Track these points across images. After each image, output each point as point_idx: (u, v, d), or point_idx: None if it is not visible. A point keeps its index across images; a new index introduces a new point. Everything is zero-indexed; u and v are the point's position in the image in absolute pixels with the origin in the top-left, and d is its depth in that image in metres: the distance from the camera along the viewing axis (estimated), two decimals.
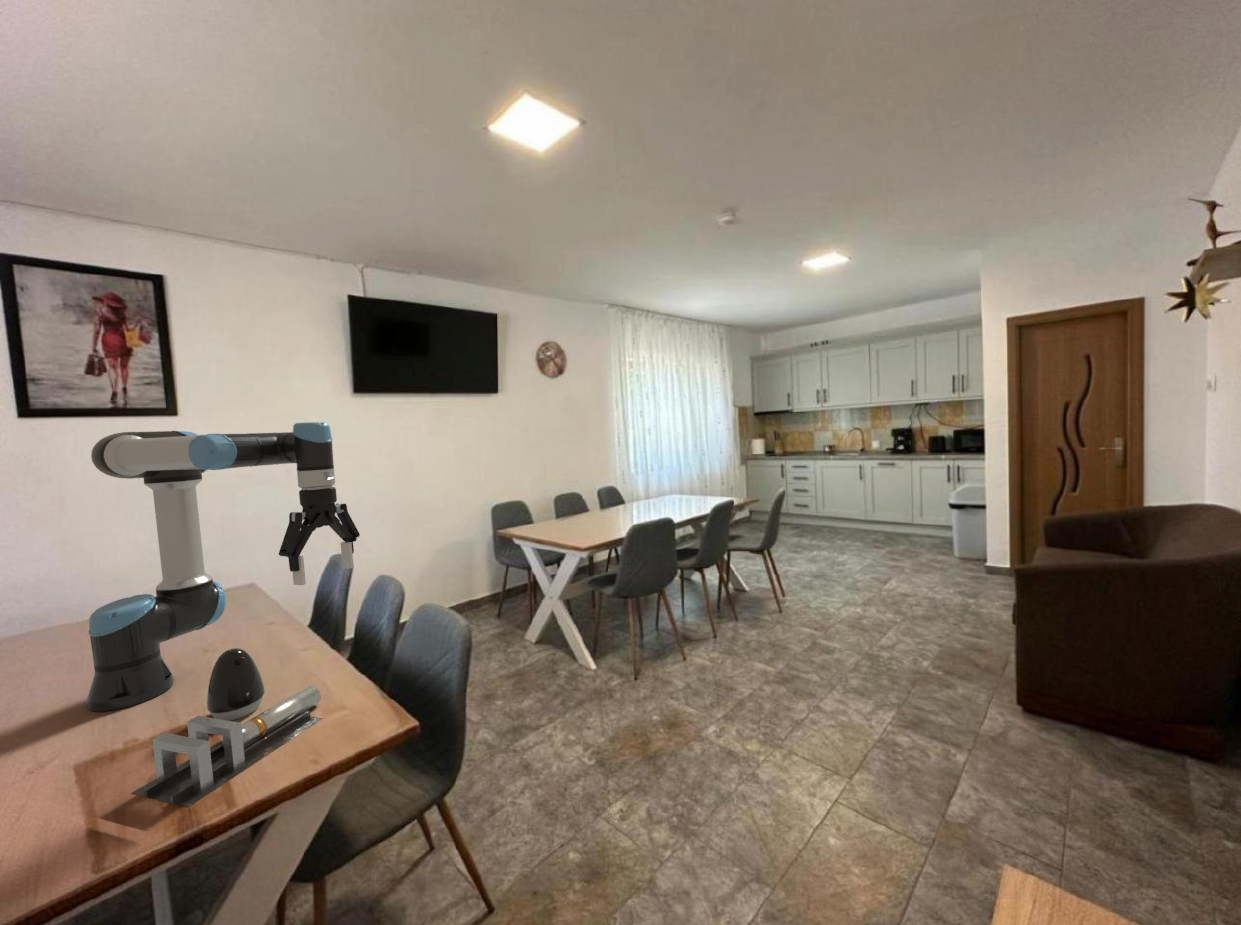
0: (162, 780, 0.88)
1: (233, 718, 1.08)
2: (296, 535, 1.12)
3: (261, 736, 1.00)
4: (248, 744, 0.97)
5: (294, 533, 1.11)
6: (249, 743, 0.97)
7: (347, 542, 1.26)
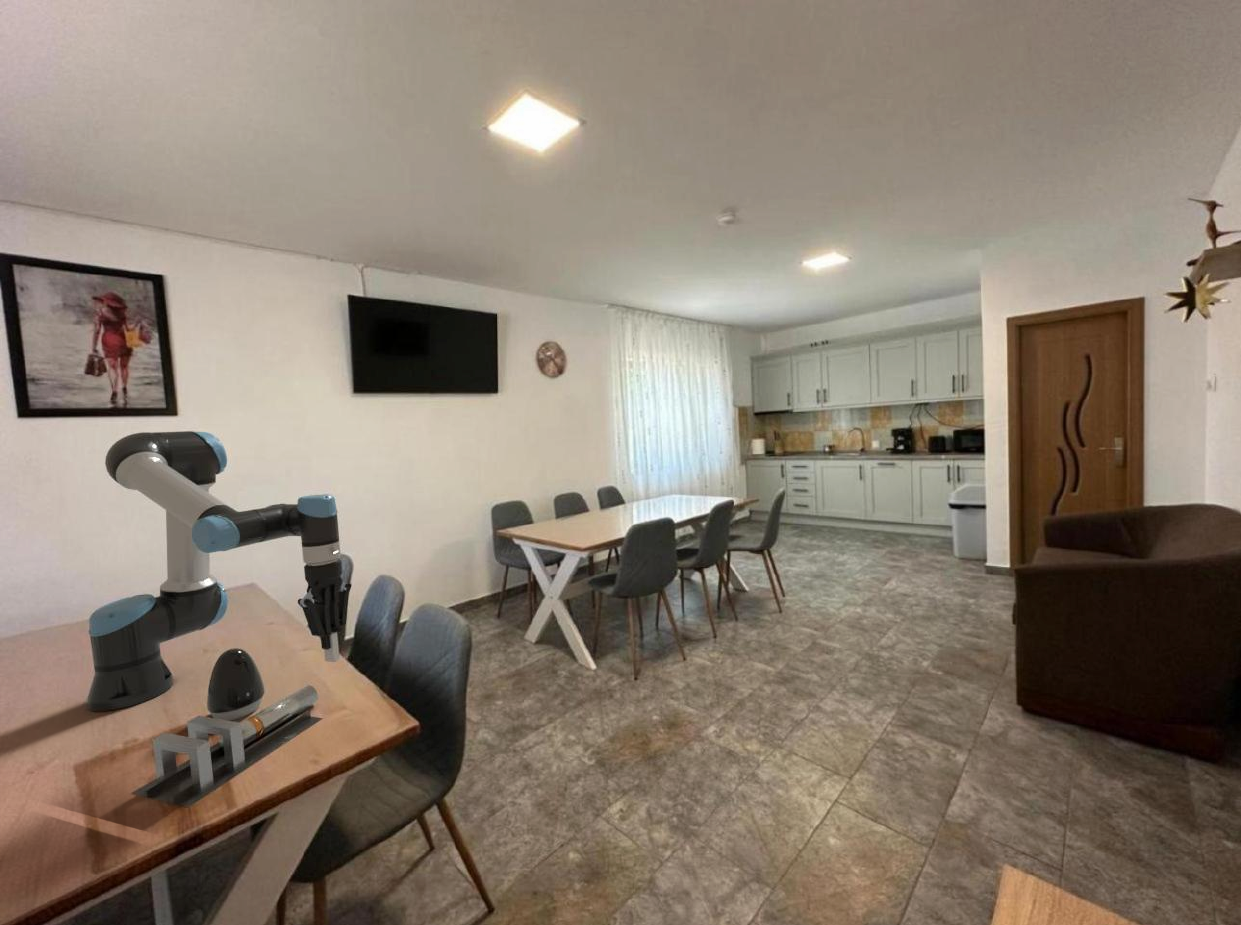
0: (162, 780, 0.88)
1: (233, 718, 1.08)
2: (317, 617, 1.13)
3: (258, 732, 1.00)
4: (246, 739, 0.97)
5: (314, 617, 1.12)
6: (246, 739, 0.97)
7: (332, 632, 1.18)
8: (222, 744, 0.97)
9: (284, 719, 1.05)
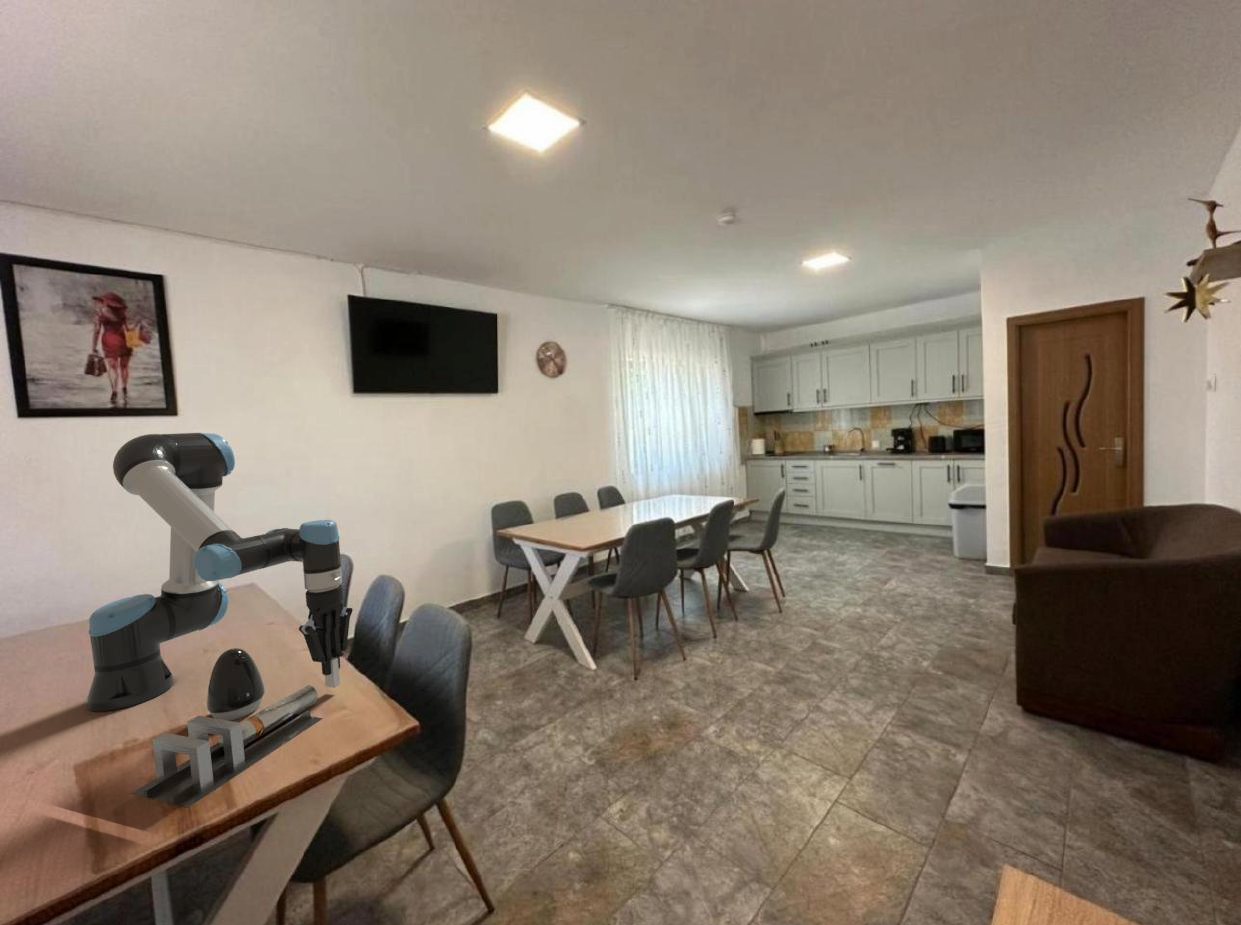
0: (162, 780, 0.88)
1: (233, 718, 1.08)
2: (318, 643, 1.13)
3: (258, 732, 1.00)
4: (246, 739, 0.97)
5: (315, 644, 1.13)
6: (246, 739, 0.97)
7: (333, 658, 1.18)
8: (222, 744, 0.97)
9: (284, 719, 1.05)
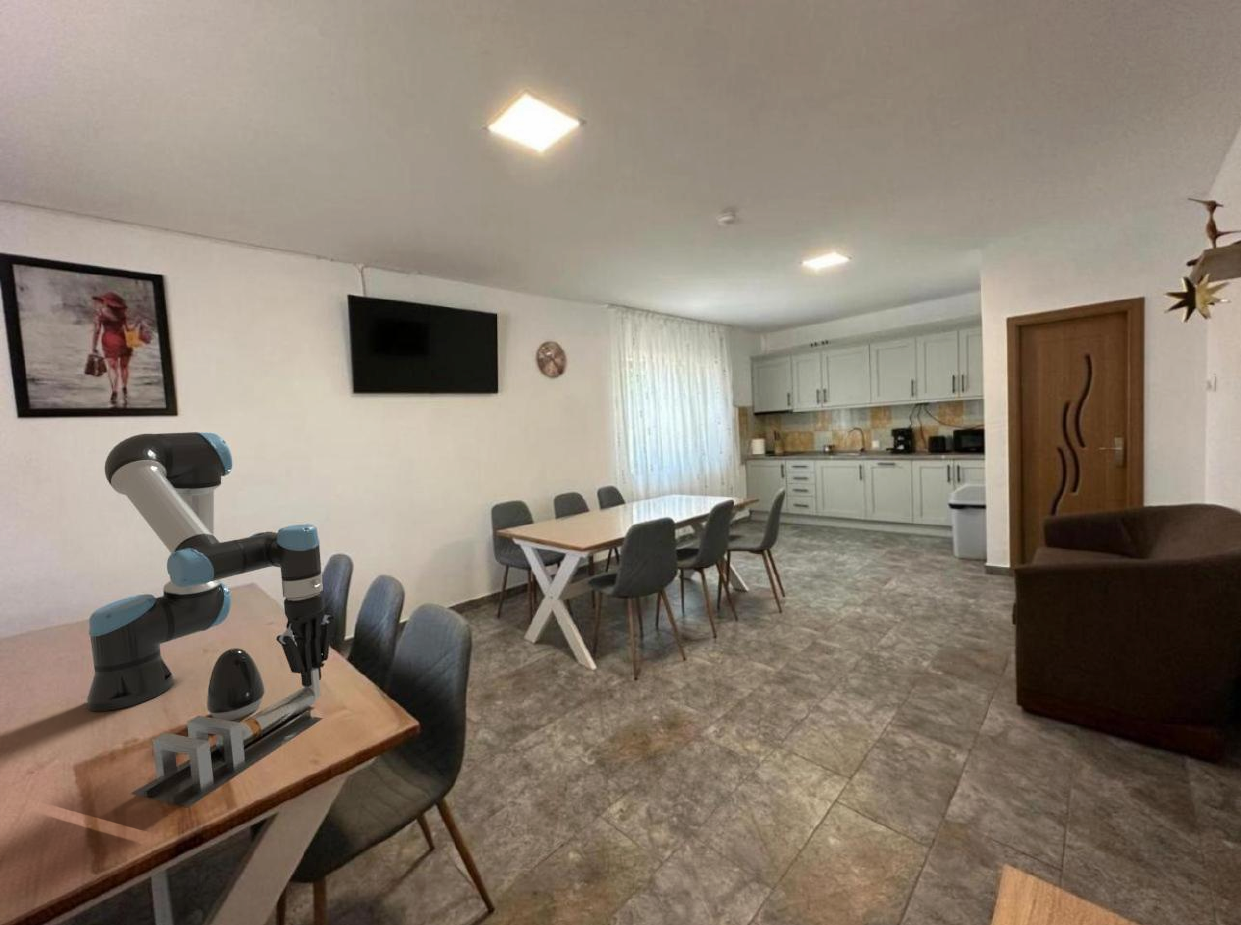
0: (162, 780, 0.88)
1: (233, 718, 1.08)
2: (297, 654, 1.08)
3: (255, 734, 0.99)
4: None
5: (294, 654, 1.08)
6: (243, 741, 0.97)
7: (313, 668, 1.13)
8: (219, 746, 0.96)
9: (281, 721, 1.05)
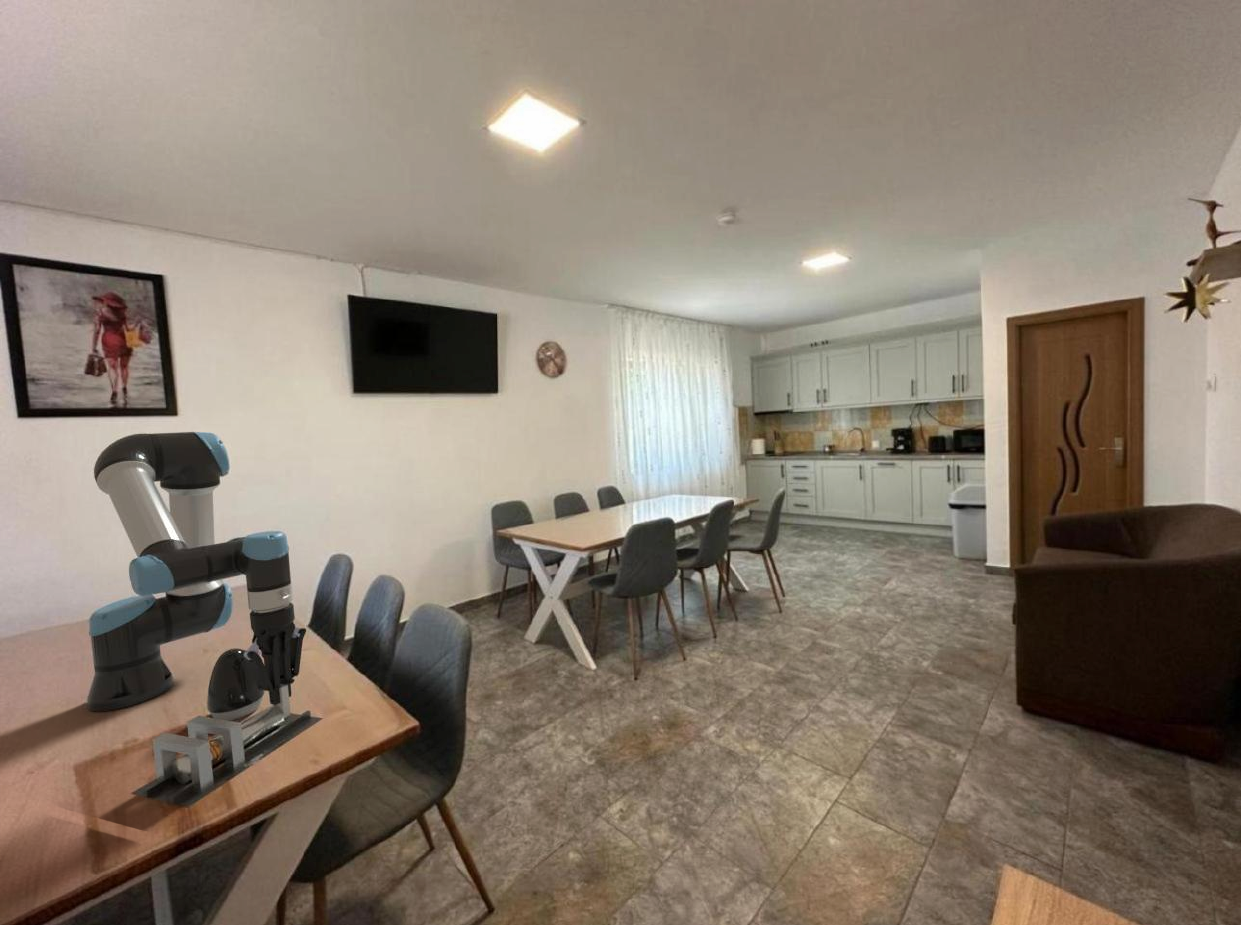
0: (162, 780, 0.88)
1: (233, 718, 1.08)
2: (264, 670, 1.01)
3: (216, 758, 0.92)
4: None
5: (260, 671, 1.01)
6: None
7: (282, 685, 1.06)
8: (174, 772, 0.89)
9: (245, 743, 0.97)
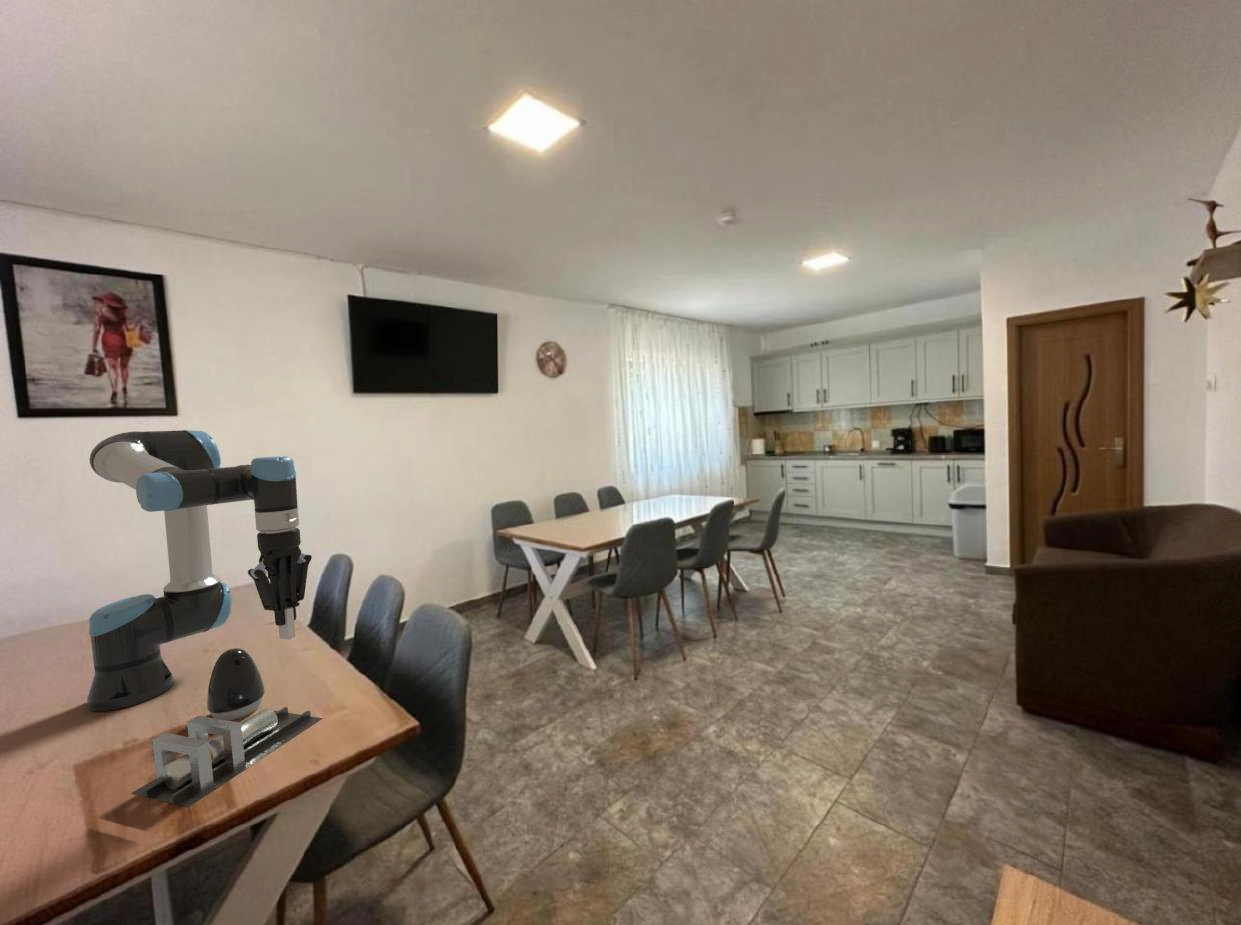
0: (162, 780, 0.88)
1: (233, 718, 1.08)
2: (270, 589, 1.03)
3: None
4: None
5: (266, 590, 1.02)
6: None
7: (288, 607, 1.08)
8: (165, 778, 0.87)
9: None
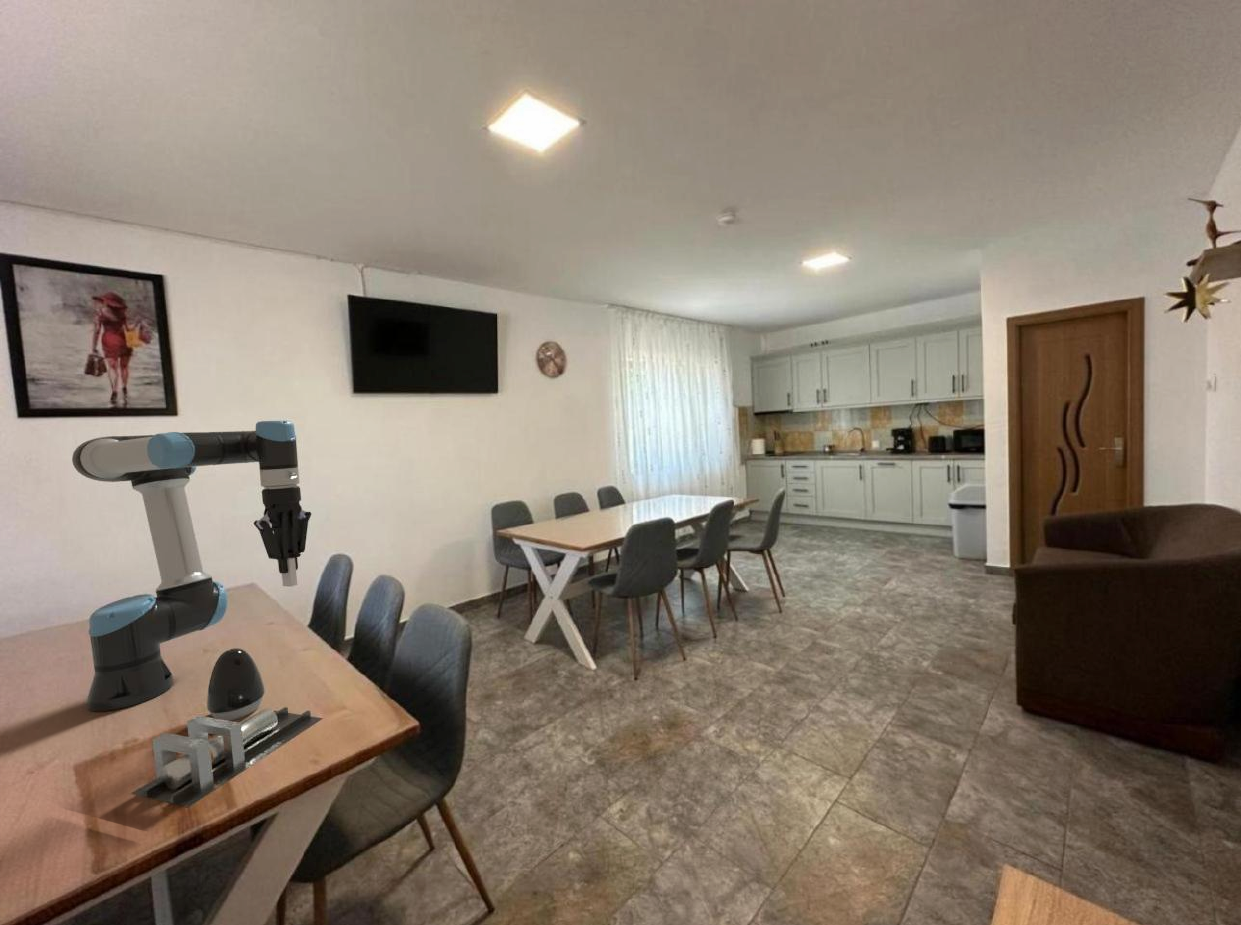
0: (162, 780, 0.88)
1: (233, 718, 1.08)
2: (274, 539, 1.14)
3: None
4: None
5: (271, 539, 1.14)
6: None
7: (290, 558, 1.19)
8: (165, 778, 0.87)
9: None
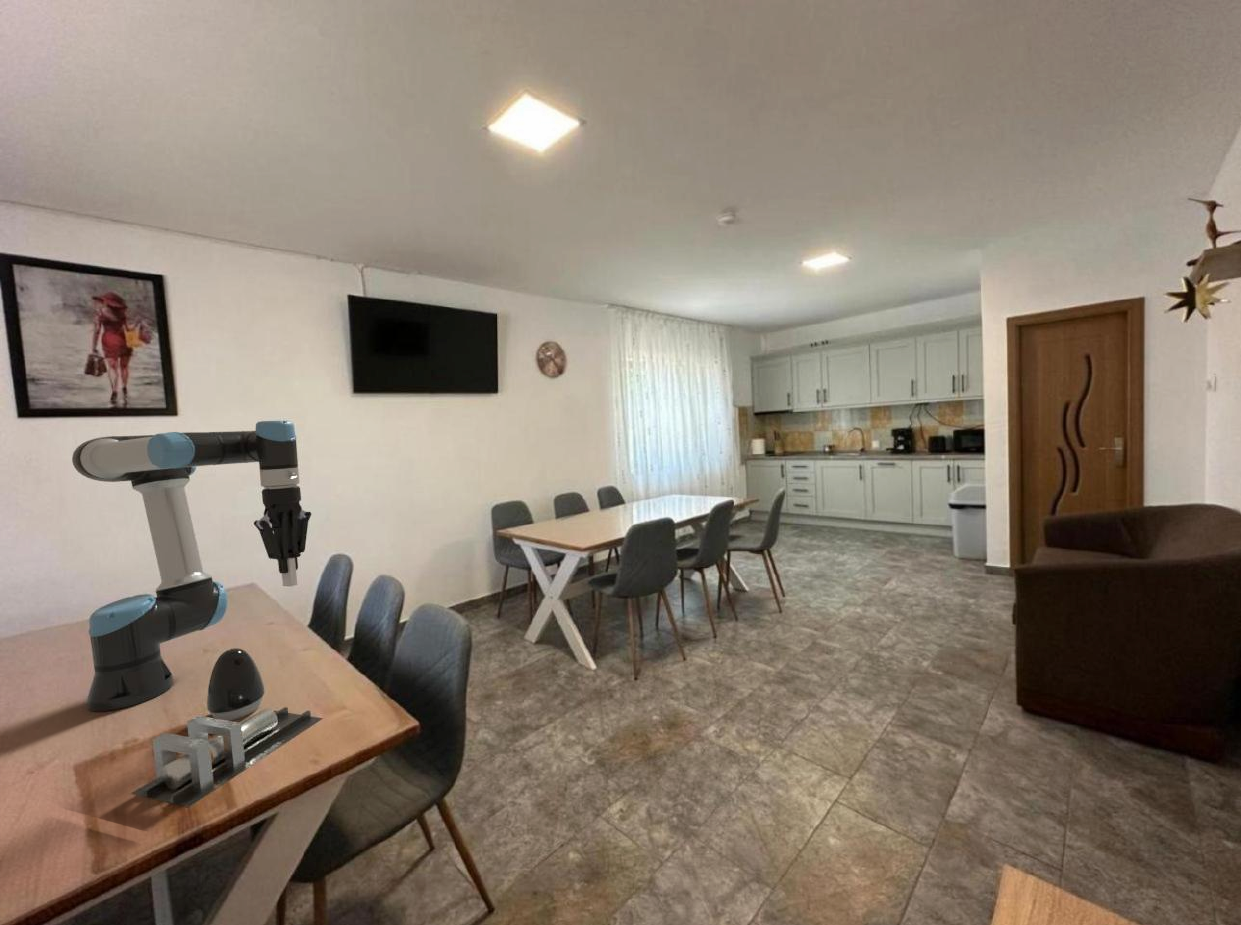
0: (162, 780, 0.88)
1: (233, 718, 1.08)
2: (274, 539, 1.14)
3: None
4: None
5: (271, 539, 1.14)
6: None
7: (290, 558, 1.19)
8: (165, 778, 0.87)
9: None
